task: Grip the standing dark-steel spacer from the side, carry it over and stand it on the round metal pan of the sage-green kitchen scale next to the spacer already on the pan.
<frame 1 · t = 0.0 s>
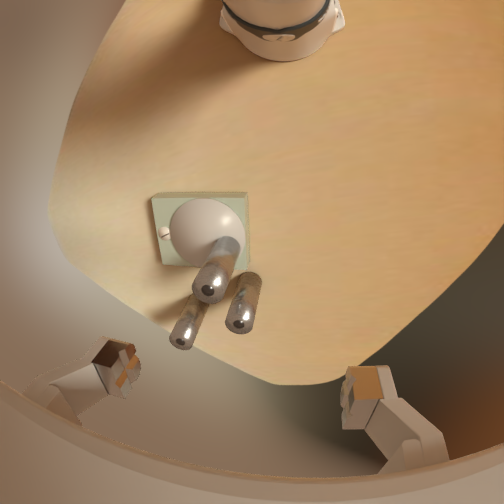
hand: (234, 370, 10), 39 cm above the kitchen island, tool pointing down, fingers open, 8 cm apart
spacer a: (199, 301, 60), on the kitchen island
spacer c: (250, 281, 55), on the kitchen island
scale: (203, 227, 51), on the kitchen island
spacer b: (227, 247, 48), point 4 cm above the kitchen island, touching scale
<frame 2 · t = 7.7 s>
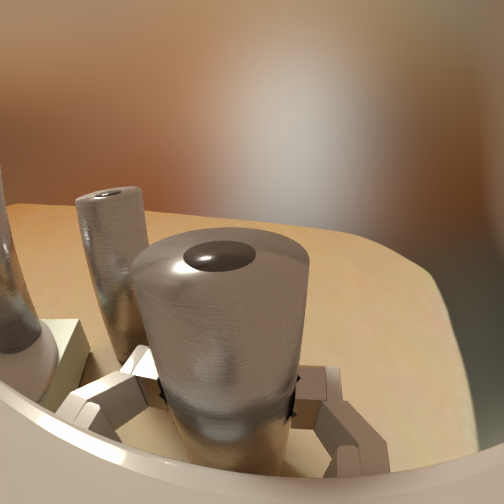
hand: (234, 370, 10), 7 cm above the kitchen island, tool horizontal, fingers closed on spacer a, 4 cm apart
spacer a: (239, 466, 12), on the kitchen island, touching gripper
spacer c: (140, 347, 21), on the kitchen island
scale: (0, 412, 12), on the kitchen island
spacer b: (18, 335, 15), point 4 cm above the kitchen island, touching scale
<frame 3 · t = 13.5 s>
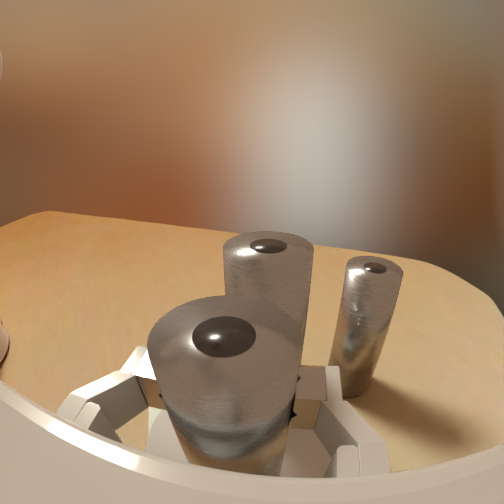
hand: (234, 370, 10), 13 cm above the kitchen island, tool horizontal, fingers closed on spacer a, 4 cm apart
spacer a: (239, 483, 13), point 4 cm above the kitchen island, touching gripper, scale
spacer c: (347, 380, 25), on the kitchen island
scale: (250, 482, 15), on the kitchen island
spacer b: (263, 401, 19), point 4 cm above the kitchen island, touching scale
when the fingers open (12 cm above the kitchen island, at t = 14.3 s): spacer a stays where it is, resting on scale.
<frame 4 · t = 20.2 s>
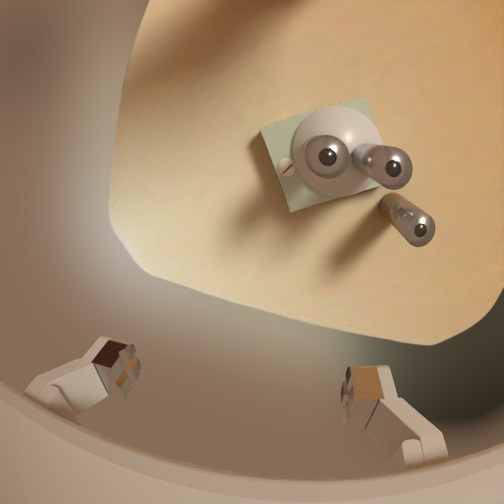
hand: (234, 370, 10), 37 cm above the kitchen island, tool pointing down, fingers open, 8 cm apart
spacer a: (318, 150, 37), point 4 cm above the kitchen island, touching scale
spacer c: (392, 206, 42), on the kitchen island
scale: (326, 152, 41), on the kitchen island
spacer b: (366, 158, 37), point 4 cm above the kitchen island, touching scale
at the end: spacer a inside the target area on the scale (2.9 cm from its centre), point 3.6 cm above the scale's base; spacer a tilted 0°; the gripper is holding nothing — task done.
